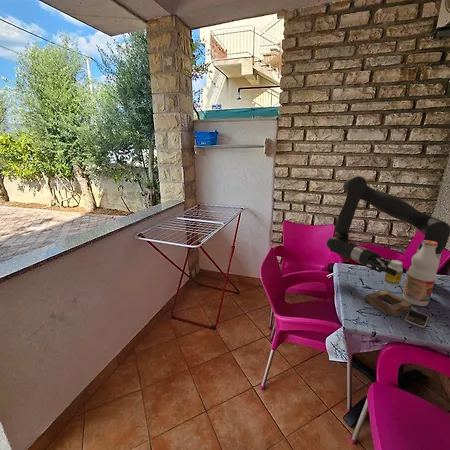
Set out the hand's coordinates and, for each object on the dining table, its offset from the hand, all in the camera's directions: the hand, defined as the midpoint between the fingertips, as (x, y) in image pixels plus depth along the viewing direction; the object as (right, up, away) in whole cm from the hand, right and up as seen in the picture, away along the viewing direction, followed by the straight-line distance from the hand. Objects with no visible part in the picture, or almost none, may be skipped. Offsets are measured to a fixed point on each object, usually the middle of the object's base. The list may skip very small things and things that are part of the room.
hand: (400, 272), depth 98 cm
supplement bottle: (-1, -5, +4) cm, 7 cm away
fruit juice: (+14, -15, +10) cm, 23 cm away
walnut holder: (-1, -16, +7) cm, 17 cm away
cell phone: (+5, -19, -2) cm, 20 cm away
